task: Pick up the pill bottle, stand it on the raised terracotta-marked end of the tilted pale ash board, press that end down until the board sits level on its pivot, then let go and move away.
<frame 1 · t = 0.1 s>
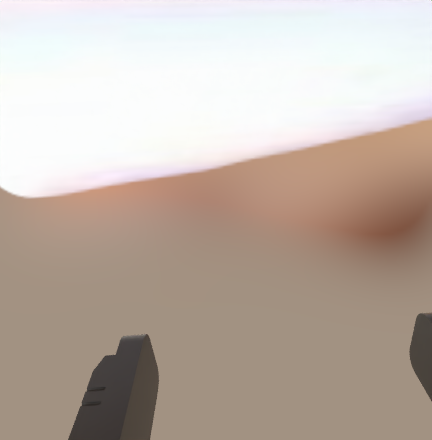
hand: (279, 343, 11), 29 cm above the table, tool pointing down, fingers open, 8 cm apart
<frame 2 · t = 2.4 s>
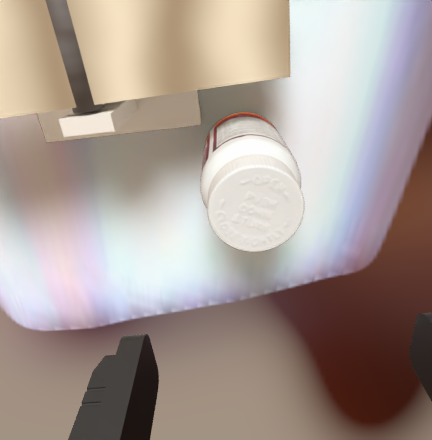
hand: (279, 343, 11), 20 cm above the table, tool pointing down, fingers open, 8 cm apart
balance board: (67, 30, 19), point 6 cm above the table, hinge at -10.0°
pill bottle: (242, 148, 29), on the table
pivot stand: (102, 30, 24), on the table
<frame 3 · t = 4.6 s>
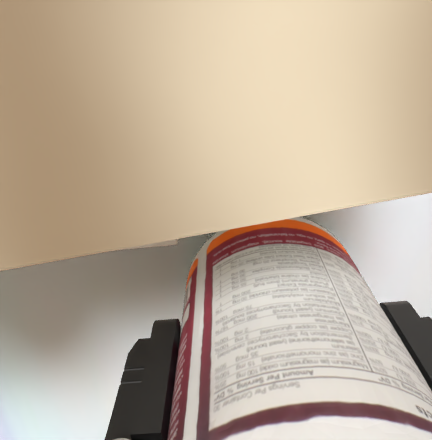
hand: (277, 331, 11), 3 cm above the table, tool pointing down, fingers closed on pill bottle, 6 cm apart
pill bottle: (266, 275, 14), on the table, touching gripper
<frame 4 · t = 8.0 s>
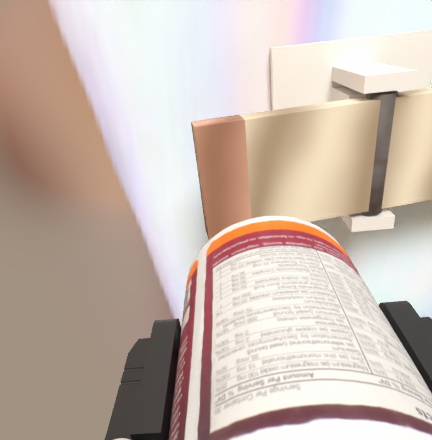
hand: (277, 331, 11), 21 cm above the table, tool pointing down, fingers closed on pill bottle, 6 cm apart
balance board: (374, 155, 24), point 6 cm above the table, hinge at -10.0°
pill bottle: (266, 276, 14), point 19 cm above the table, touching gripper
pivot stand: (344, 131, 30), on the table
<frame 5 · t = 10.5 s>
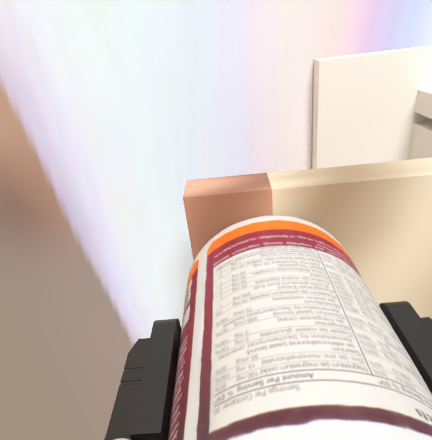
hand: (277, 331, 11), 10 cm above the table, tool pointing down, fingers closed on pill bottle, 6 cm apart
pill bottle: (267, 276, 14), point 7 cm above the table, touching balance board, gripper
pivot stand: (421, 185, 19), on the table
when the fingers open (10 cm above the table, at t = 11.7 s): pill bottle stays where it is, resting on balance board.
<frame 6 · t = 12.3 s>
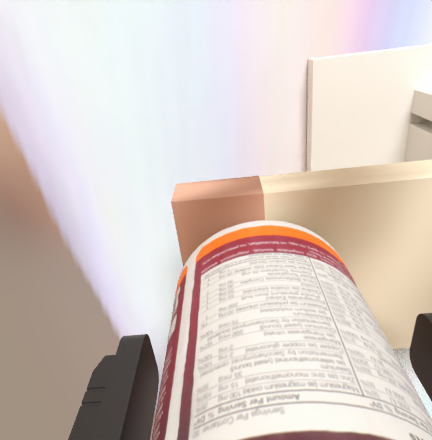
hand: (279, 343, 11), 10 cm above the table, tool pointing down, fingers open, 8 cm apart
pill bottle: (260, 282, 13), point 7 cm above the table, touching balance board
pivot stand: (418, 187, 19), on the table
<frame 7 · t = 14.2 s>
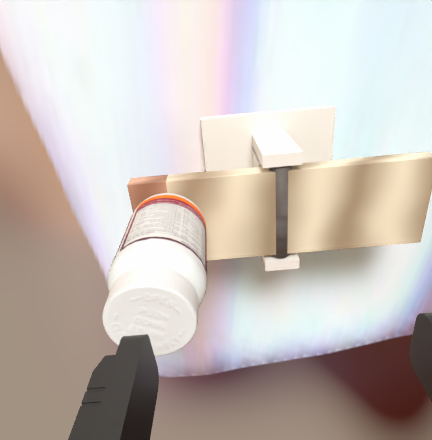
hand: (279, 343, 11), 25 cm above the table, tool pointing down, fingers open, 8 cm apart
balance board: (280, 211, 30), point 7 cm above the table, hinge at 0.4°, touching pill bottle
pill bottle: (169, 223, 29), point 7 cm above the table, touching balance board
pivot stand: (267, 182, 35), on the table
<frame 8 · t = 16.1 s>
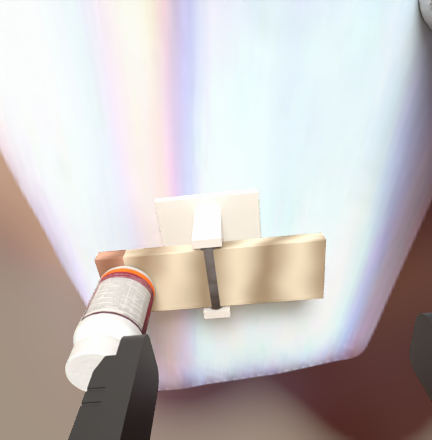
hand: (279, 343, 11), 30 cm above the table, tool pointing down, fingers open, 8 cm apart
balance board: (212, 275, 39), point 6 cm above the table, hinge at 0.4°, touching pill bottle
pill bottle: (128, 285, 39), point 7 cm above the table, touching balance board
pivot stand: (212, 244, 44), on the table
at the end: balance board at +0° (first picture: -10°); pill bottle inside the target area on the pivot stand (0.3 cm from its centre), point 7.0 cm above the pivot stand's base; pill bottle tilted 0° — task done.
